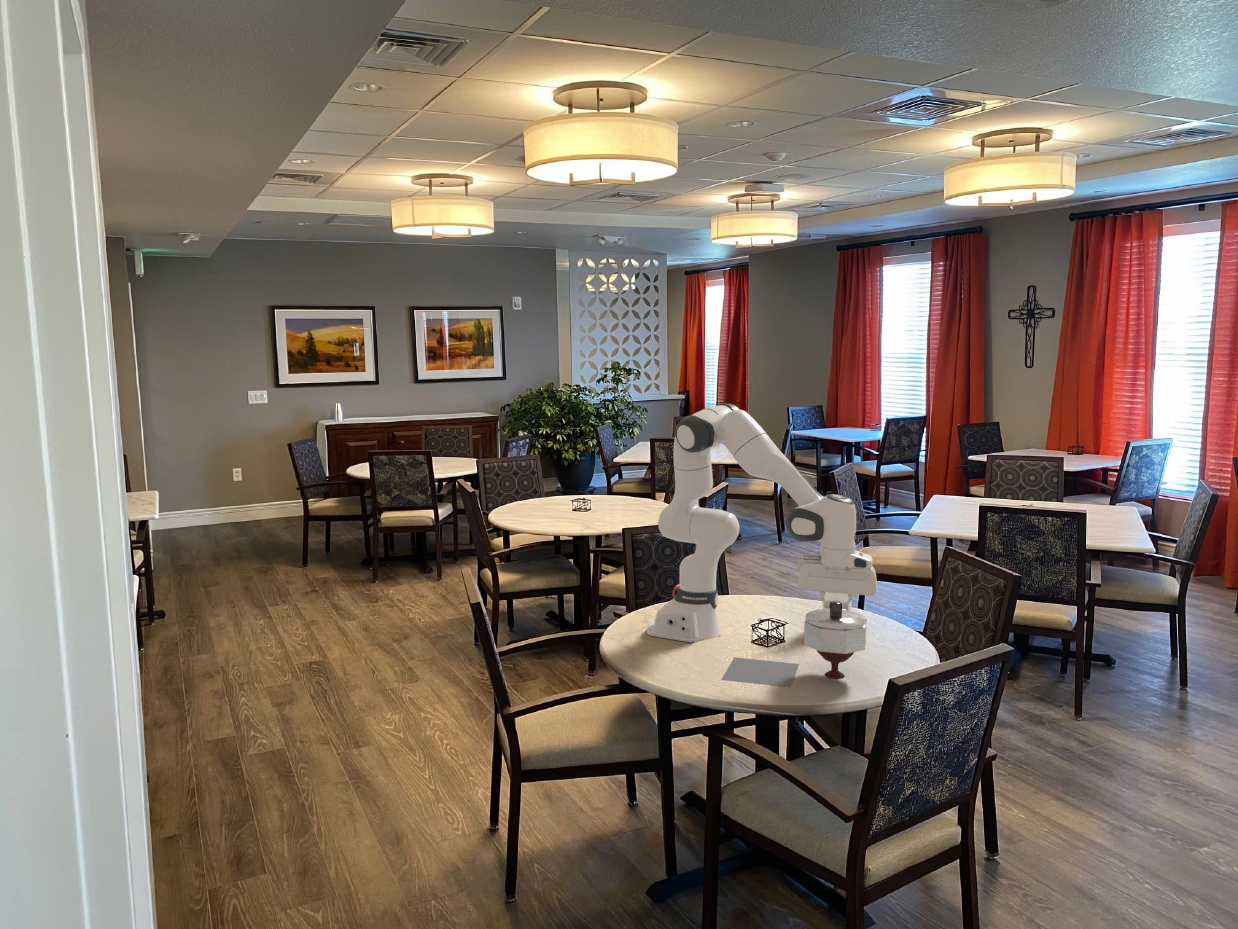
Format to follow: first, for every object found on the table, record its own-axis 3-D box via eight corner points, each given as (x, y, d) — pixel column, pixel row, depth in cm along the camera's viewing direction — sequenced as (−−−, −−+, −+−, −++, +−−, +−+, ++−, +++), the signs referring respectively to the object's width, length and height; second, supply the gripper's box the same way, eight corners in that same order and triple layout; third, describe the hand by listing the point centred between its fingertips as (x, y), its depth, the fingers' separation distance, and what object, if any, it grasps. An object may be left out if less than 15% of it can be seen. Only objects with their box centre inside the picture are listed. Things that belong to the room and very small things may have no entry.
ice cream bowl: (857, 685, 234) (859, 629, 232) (813, 682, 236) (814, 626, 234) (855, 671, 244) (856, 617, 242) (812, 668, 246) (814, 615, 245)
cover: (801, 649, 234) (802, 608, 233) (808, 631, 249) (809, 592, 247) (864, 655, 229) (865, 613, 228) (867, 636, 244) (868, 597, 243)
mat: (721, 681, 237) (721, 679, 237) (734, 658, 254) (734, 657, 254) (790, 688, 232) (790, 687, 232) (799, 665, 249) (799, 663, 249)
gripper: (795, 557, 236) (794, 608, 238) (877, 562, 230) (875, 615, 232) (798, 551, 242) (797, 602, 244) (878, 557, 236) (876, 608, 238)
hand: (836, 608), depth 238 cm, fingers open, 3 cm apart
